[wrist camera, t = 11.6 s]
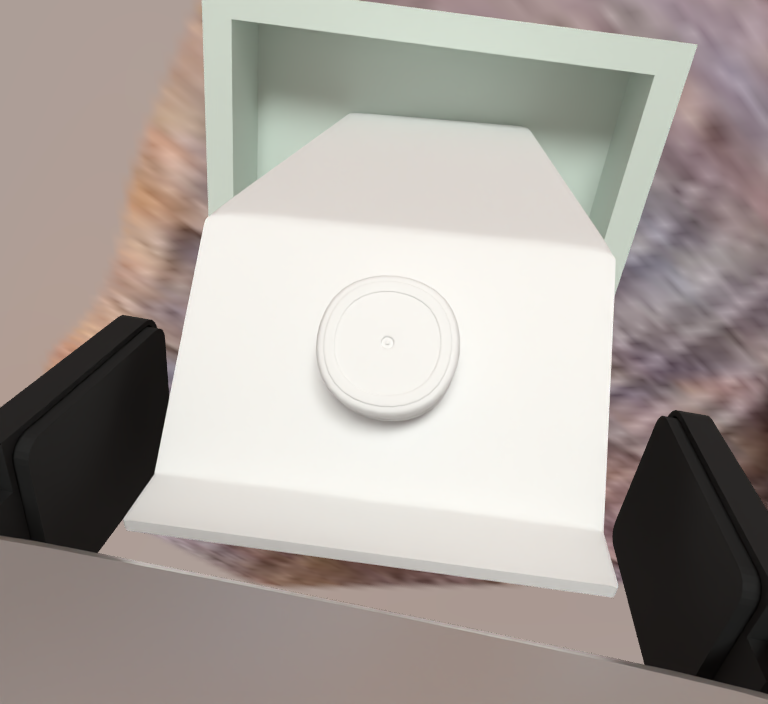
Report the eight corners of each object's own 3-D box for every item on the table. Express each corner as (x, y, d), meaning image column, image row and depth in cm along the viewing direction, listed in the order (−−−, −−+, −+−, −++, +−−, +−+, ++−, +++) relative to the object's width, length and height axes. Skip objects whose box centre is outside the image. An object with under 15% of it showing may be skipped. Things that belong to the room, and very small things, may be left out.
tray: (660, 42, 22) (697, 44, 19) (562, 364, 29) (576, 410, 25) (241, -13, 23) (201, -20, 19) (242, 314, 30) (212, 352, 26)
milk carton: (500, 294, 26) (564, 737, 10) (343, 278, 27) (152, 673, 10) (529, 125, 23) (701, 370, 6) (349, 110, 24) (75, 301, 7)
